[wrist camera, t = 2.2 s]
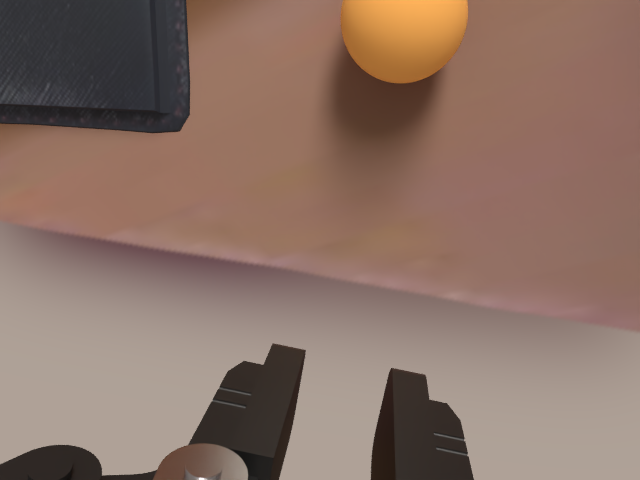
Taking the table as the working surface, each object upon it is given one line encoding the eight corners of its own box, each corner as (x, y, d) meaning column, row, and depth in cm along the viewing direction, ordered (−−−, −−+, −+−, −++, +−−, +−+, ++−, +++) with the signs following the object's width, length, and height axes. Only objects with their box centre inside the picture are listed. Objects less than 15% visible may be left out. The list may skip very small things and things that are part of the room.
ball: (471, -28, 28) (494, -56, 22) (444, 91, 30) (458, 94, 24) (356, -47, 28) (348, -79, 22) (336, 72, 30) (325, 71, 24)
